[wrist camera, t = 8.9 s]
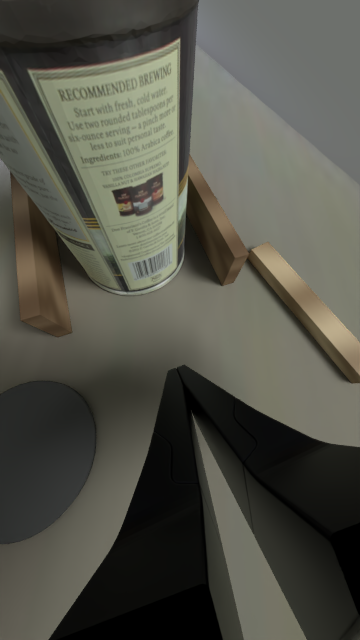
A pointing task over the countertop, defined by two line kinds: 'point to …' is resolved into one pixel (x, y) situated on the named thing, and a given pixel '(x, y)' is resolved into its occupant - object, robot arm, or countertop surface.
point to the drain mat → (41, 455)
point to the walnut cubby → (45, 267)
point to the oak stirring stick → (309, 310)
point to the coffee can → (103, 128)
